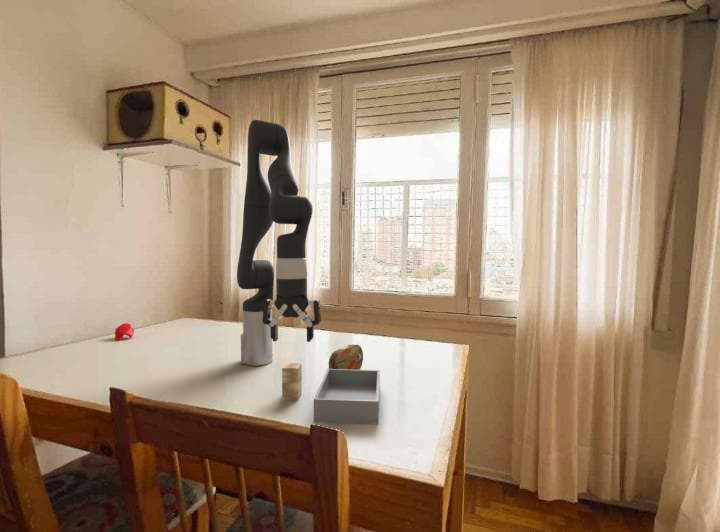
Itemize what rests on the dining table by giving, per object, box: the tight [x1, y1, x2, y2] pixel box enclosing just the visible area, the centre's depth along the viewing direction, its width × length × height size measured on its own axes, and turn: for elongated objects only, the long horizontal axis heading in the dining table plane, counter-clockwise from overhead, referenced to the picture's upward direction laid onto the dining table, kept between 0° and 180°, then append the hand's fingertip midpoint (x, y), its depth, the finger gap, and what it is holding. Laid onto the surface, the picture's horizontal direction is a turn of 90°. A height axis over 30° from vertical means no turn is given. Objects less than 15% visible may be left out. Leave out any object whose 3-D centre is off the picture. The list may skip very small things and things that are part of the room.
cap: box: [114, 322, 135, 342], centre depth 152 cm, size 8×6×6 cm
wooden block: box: [281, 362, 303, 401], centre depth 95 cm, size 4×4×8 cm
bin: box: [313, 368, 381, 425], centre depth 91 cm, size 14×20×5 cm
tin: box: [328, 344, 364, 370], centre depth 111 cm, size 15×3×8 cm, turn 148°
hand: (292, 341), depth 94 cm, fingers open, 8 cm apart
